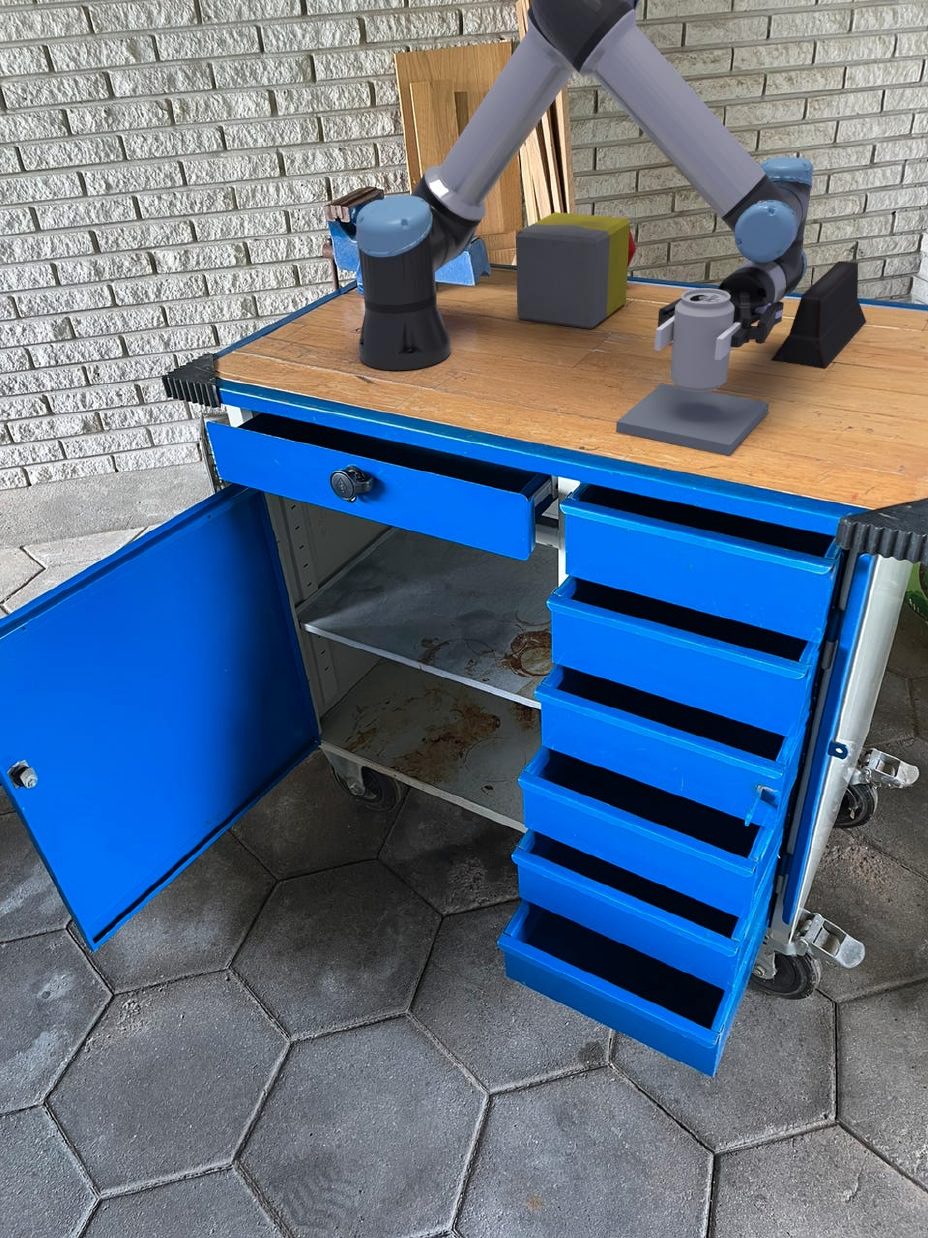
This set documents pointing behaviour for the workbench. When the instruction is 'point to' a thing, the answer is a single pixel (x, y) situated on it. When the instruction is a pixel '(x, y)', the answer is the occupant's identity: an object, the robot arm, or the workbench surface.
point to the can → (700, 339)
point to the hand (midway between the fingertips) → (687, 344)
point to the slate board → (693, 418)
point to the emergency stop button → (573, 268)
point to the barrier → (824, 319)
